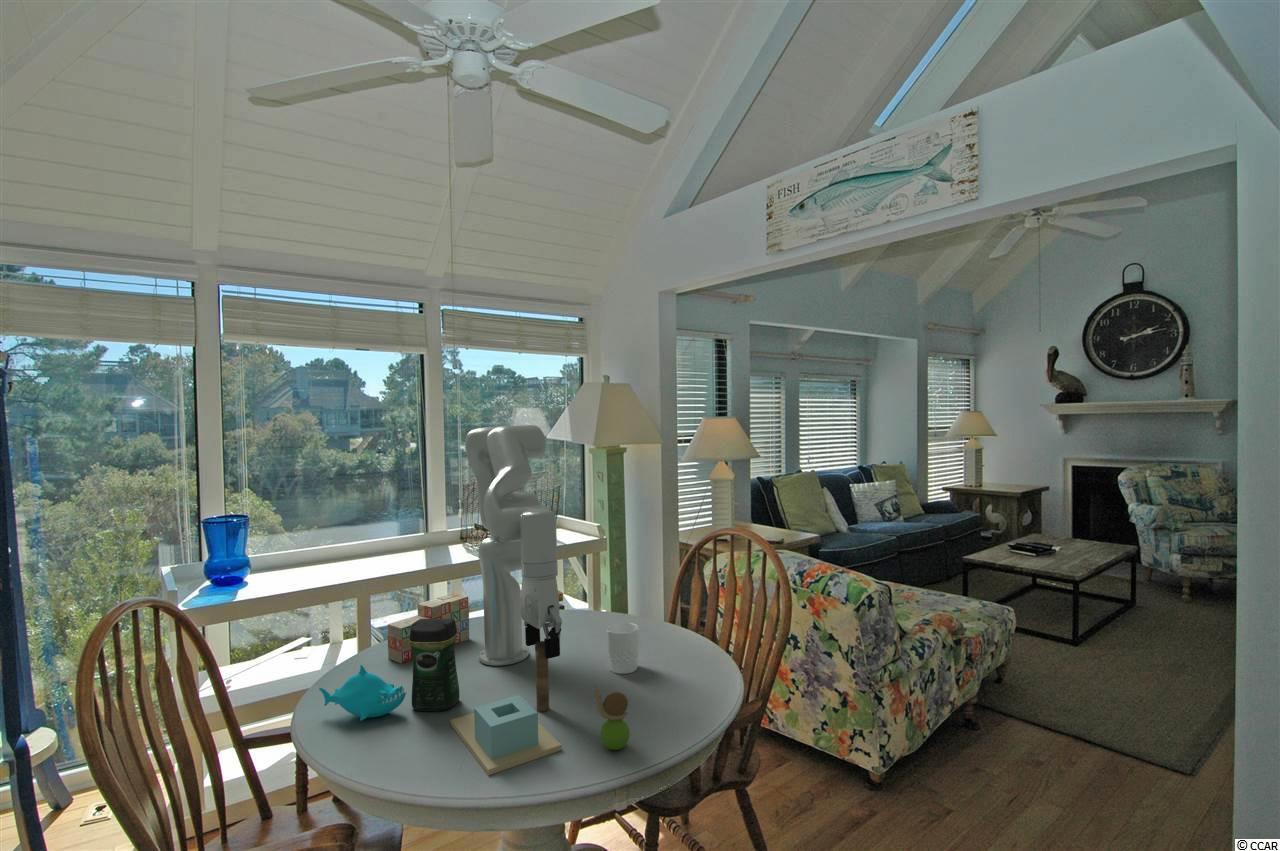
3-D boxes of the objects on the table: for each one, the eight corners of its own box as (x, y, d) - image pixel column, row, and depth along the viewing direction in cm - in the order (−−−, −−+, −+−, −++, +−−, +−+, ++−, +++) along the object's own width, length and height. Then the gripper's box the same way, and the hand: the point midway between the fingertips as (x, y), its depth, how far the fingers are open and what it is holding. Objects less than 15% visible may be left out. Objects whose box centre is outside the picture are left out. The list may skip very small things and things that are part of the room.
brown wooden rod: (534, 708, 132) (532, 642, 131) (546, 705, 133) (544, 640, 133) (539, 713, 129) (538, 646, 129) (551, 709, 131) (550, 643, 131)
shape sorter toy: (450, 724, 126) (449, 690, 125) (516, 705, 133) (515, 673, 133) (488, 775, 107) (487, 735, 107) (561, 749, 115) (560, 712, 115)
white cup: (641, 662, 155) (640, 622, 155) (638, 675, 147) (637, 633, 147) (610, 662, 156) (609, 622, 156) (605, 675, 148) (604, 633, 148)
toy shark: (396, 726, 126) (395, 673, 125) (307, 728, 125) (305, 675, 125) (414, 704, 135) (412, 654, 135) (331, 706, 135) (329, 657, 135)
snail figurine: (595, 741, 118) (593, 678, 117) (629, 739, 118) (627, 676, 118) (595, 757, 112) (593, 691, 112) (631, 754, 113) (629, 689, 112)
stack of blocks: (401, 664, 158) (400, 616, 158) (387, 659, 162) (386, 612, 162) (469, 639, 175) (468, 595, 175) (455, 635, 179) (454, 592, 179)
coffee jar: (464, 696, 138) (461, 613, 138) (450, 713, 130) (447, 625, 130) (422, 696, 139) (420, 613, 139) (405, 712, 131) (403, 625, 131)
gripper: (507, 565, 136) (510, 643, 136) (540, 579, 121) (543, 667, 121) (539, 560, 140) (541, 636, 140) (574, 573, 126) (577, 658, 125)
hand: (542, 650), depth 131 cm, fingers open, 9 cm apart
